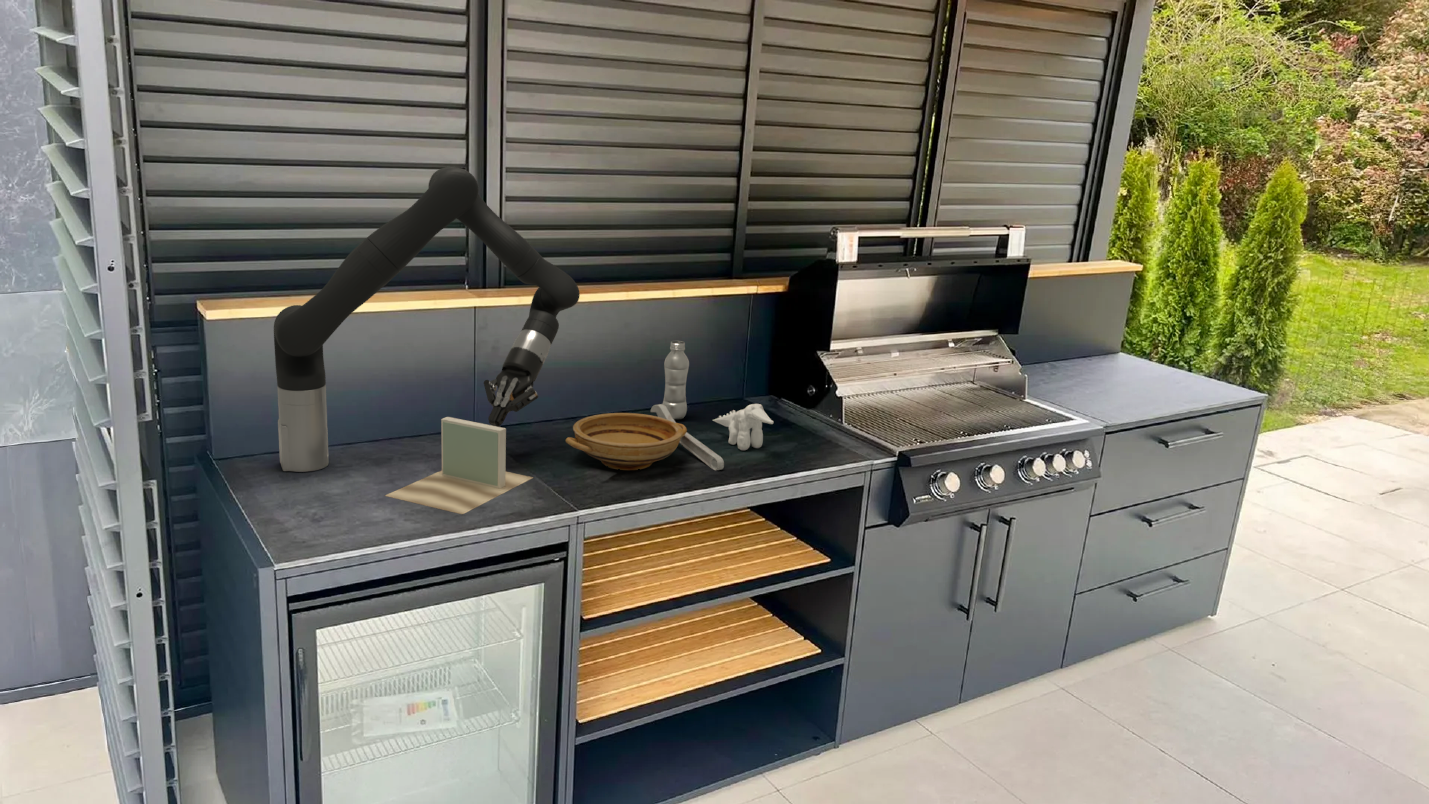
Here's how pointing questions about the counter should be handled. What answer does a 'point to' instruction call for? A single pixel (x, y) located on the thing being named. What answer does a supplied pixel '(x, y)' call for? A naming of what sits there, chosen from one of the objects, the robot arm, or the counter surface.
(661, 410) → the wrench
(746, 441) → the toy dinosaur
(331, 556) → the counter surface
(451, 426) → the tile
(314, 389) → the robot arm
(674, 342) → the plastic bottle
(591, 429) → the ceramic bowl
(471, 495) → the board
